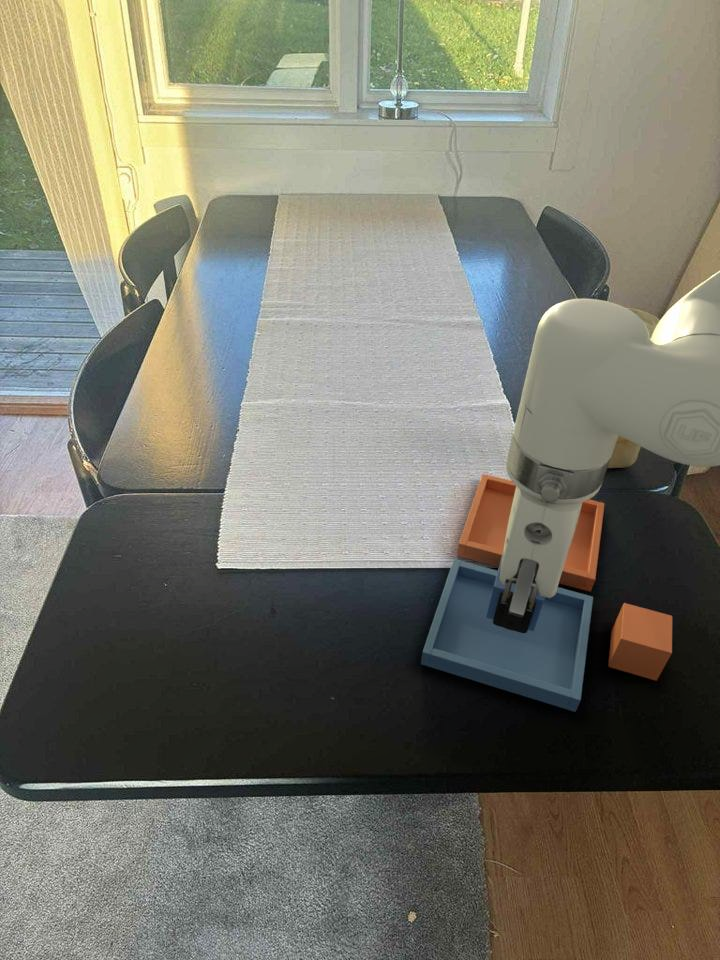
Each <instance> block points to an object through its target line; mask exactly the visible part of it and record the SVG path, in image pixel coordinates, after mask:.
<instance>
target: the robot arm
mask: <svg viewBox="0 0 720 960" xmlns="http://www.w3.org/2000/svg"><path fill="white" fill-rule="evenodd" d="M629 309H630V308H627V307H624V306H622V305H620V304H618V303H614V302H611V301H607V300H602V299H596V298H572V299H567V300H564V301H561V302H559V303H556V304H555V305H553V306H551V307H550V308H548V309H547V311H545V313H544V314H543V315H542V317H541V318H540V321H539V323H538V325H537V328H536V332H535V335H534V339H533V345H532V349H531V353H530V357H529V361H528V366H527V371H526V374H525V379H524V384H523V387H522V392H521V398H520V402H519V406H518V409H517V415H516V419H515V422H514V428H513V431H512V435H511V439H510V445H509V448H508V452H507V458H506V462H505V470H506V473H507V476H508V477H509V480H511V481H512V482H513V483H514V484H515V485H516V490H515V494H514V498H513V503H512V507H511V512H510V516H509V521H508V527H507V532H506V538H505V544H504V550H503V557H502V564H501V571H500V578H499V579H500V581H501V582H502V584H503V585H505V583H506V585H505V588H504V592H503V593H500V596H499V600H498V604H497V607H496V611H495V615H494V619H493V624H494V625H496V626H500V627H503V628H506V629H508V630H512V631H517V632H520V633H527V631H528V628H529V625H530V622H531V618H532V615H533V612H534V609H535V606H536V602H535V598H536V595H537V592H538V590H539V594H540V596H544V597H547V598H551V597H553V596H554V595H555V594H556V591H557V588H558V587H559V581H560V577H561V574H562V571H563V567H564V564H565V561H566V558H567V555H568V551H569V548H570V545H571V542H572V539H573V535H574V532H575V529H576V525H577V522H578V518H579V514H580V511H581V507H582V502H583V501H586V500H588V499H590V500H591V499H592V498H593V497H595V496H596V495H597V494H598V493H599V491H600V489H601V487H602V485H603V481H604V478H605V476H606V472H607V471H608V468H607V467H608V465H609V462H610V459H611V456H612V453H613V450H614V447H615V444H616V442H617V439H618V436H621V437H623V438H625V439H627V440H629V441H631V442H633V443H635V444H637V445H639V446H641V448H643V449H645V450H647V451H649V452H651V453H653V454H655V455H657V456H659V457H662V458H665V459H667V460H669V461H672V462H674V463H677V464H682V465H686V466H692V467H696V468H697V467H700V468H711V467H720V270H719V271H717V272H716V273H714V274H713V275H711V276H710V277H708V278H707V279H706V280H704V281H703V282H701V283H700V284H698V285H697V286H696V287H694V288H693V289H692V290H690V291H689V292H688V293H686V294H685V295H684V296H682V297H681V298H680V299H679V300H678V301H677V302H676V303H675V304H673V305H672V306H671V307H670V308H669V309H668V310H667V311H666V313H665V314H664V315H663V316H662V317H661V319H659V320H660V321H659V323H658V324H657V326H656V328H655V329H654V332H653V334H652V337H651V339H650V336H649V331H648V329H647V327H646V325H645V323H644V322H643V321H642V320H641V319H640V318H639V317H638V316H637V315H636V314H635V313H633V312H632V311H630V310H629ZM518 571H519V572H518ZM534 575H535V576H534ZM512 583H515V584H516V585H515V589H514V592H512V591H510V590H511V586H512ZM530 589H531V591H530ZM509 593H510V594H509ZM529 593H530V595H529Z"/></svg>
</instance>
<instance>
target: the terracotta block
mask: <svg viewBox="0 0 720 960" xmlns="http://www.w3.org/2000/svg"><path fill="white" fill-rule="evenodd" d="M609 644H610V645H609V653H608V655H609V656H608V665H607V666H608V668H612V669H615V670H619V671H621V672H625V673H627V674H628V673H629V674H632V675H635V676H638V677H641V678H646V679H649V680H653V681H658V680H659V678H660V675H661V674H662V672H663V670H664V668H665V667H666V665H667V663H668V661H669V660H670V658H671V655H672V654H673V616H672V615H670V614H667V613H663V612H659V611H656V610H651V609H648V608H644V607H640V606H638V605H633V604H630V603H626V602H623V604H622V606H621V608H620V610H619V613H618V615H617V618H616V620H615V622H614V624H613V627H612V629H611V633H610V643H609Z"/></svg>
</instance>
